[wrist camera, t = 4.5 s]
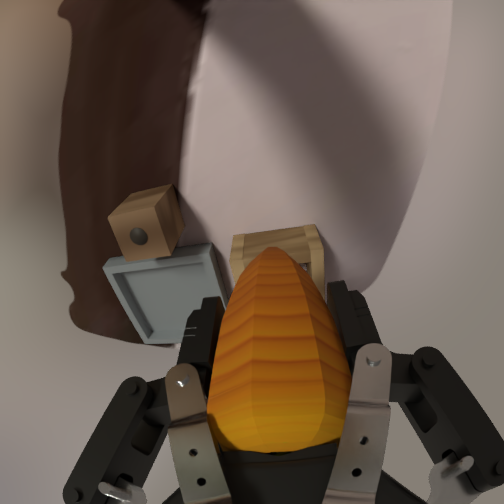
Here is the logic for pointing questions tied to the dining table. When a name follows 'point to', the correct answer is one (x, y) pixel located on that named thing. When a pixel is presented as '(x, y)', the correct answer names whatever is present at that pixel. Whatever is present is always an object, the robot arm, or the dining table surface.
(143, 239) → the walnut block
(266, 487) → the robot arm
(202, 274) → the tray
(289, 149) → the dining table surface
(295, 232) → the wooden crate
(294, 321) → the carrot
